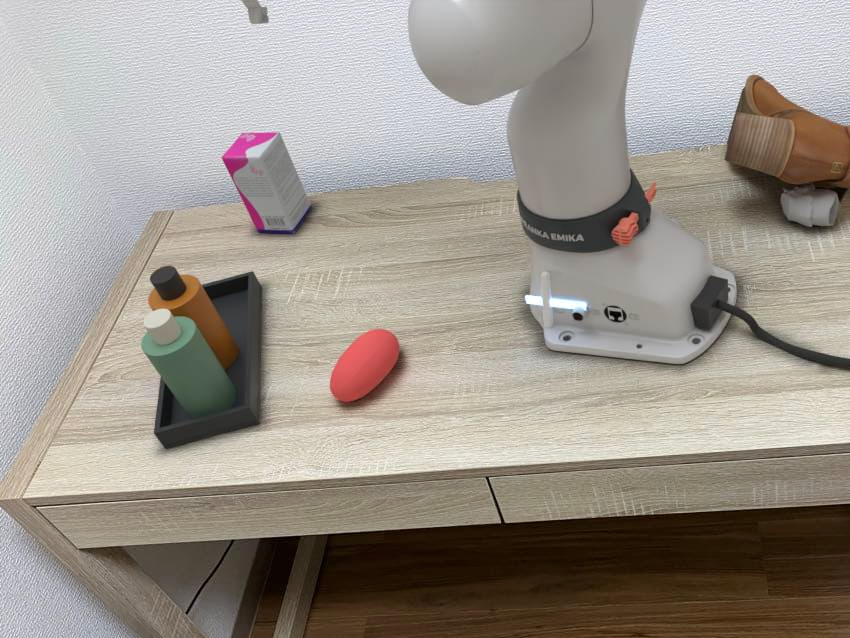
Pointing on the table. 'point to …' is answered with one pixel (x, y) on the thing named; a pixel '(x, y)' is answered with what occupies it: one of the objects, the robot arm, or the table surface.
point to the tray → (243, 321)
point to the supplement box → (267, 182)
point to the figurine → (810, 205)
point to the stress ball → (364, 364)
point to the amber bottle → (193, 310)
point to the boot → (787, 139)
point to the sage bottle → (187, 364)
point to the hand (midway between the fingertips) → (291, 21)
